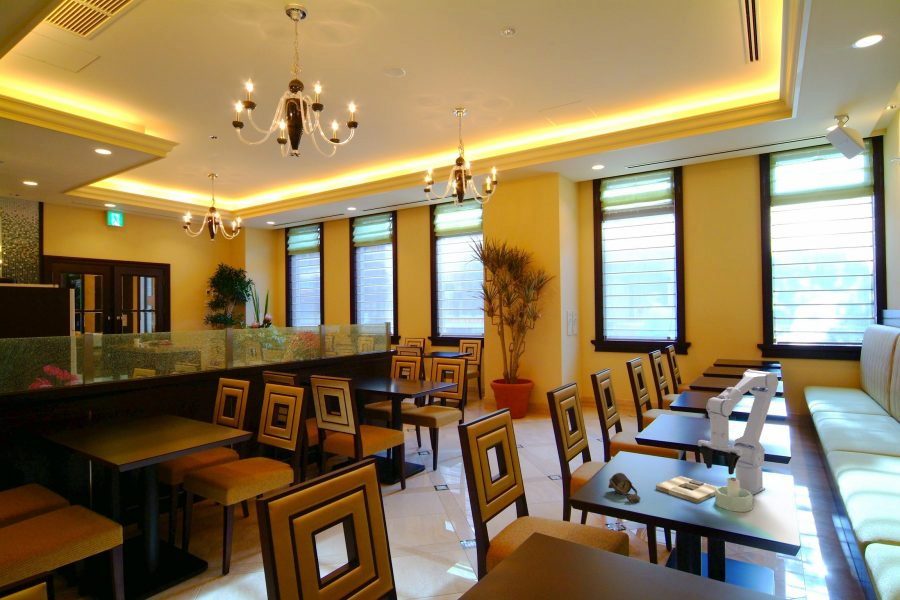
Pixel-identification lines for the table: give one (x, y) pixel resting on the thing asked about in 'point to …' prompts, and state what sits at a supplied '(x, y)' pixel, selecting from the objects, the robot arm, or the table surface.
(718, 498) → the pale green bowl
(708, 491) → the plate
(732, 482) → the cell
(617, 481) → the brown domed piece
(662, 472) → the table surface
